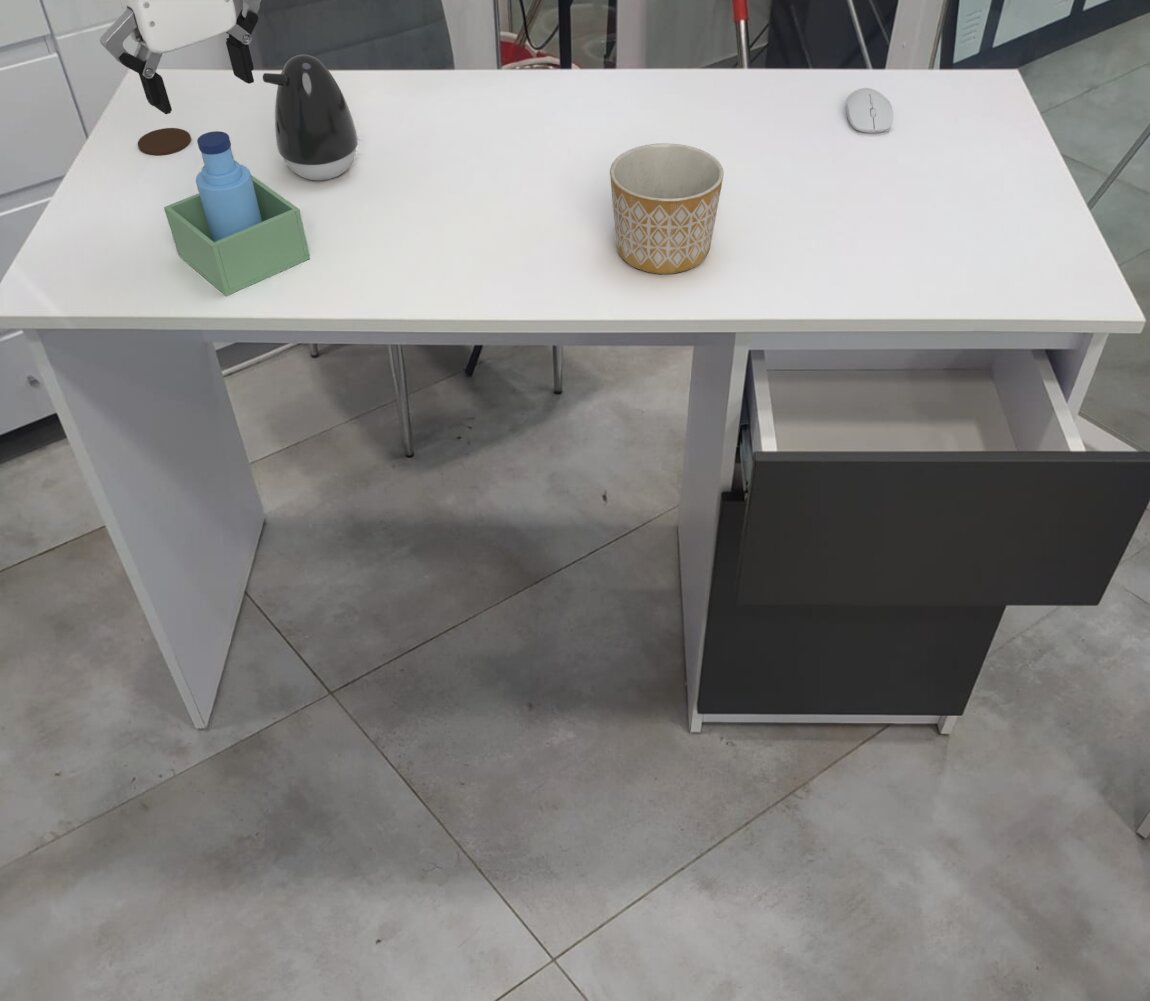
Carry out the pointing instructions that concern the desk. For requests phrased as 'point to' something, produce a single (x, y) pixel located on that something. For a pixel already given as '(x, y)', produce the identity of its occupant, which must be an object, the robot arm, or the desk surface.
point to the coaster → (164, 141)
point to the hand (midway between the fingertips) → (204, 94)
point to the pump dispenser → (312, 120)
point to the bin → (240, 241)
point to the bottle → (225, 188)
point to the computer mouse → (869, 111)
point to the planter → (665, 206)
